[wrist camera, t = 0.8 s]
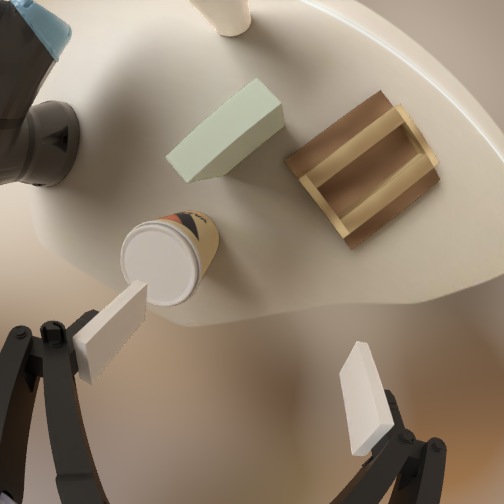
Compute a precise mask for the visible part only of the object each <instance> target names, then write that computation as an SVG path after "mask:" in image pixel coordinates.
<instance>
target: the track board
mask: <svg viewBox="0 0 504 504" xmlns="http://www.w3.org/2000/svg"><path fill="white" fill-rule="evenodd" d="M284 162H285V163H286V165H287V166H288V167H289V168H290V170H291V171H292V172H293V173H294V174H295V176H296V177H297V178H298V180H299V181H300V182H301V184H302V185H303V186H304V187H305V189H306V190H307V191H308V192H309V194H310V195H311V196H312V198H313V199H314V200H315V201H316V203H317V204H318V205H319V207H320V208H321V209H322V211H323V212H324V213H325V215H326V216H327V217H328V219H329V220H330V221H331V223H332V224H333V225H334V227H335V228H336V229H337V231H338V232H339V234H340V235H341V236H342V238H343V239H344V240H345V242H346V243H347V244H348V246H349V247H350V249H351V250H352V249H353V248H354V247H356V246H357V245H358V244H360V243H361V242H362V241H364V240H365V239H366V238H368V237H369V236H370V235H372V234H373V233H374V232H376V231H377V230H378V229H380V228H381V227H382V226H383V225H385V224H386V223H387V222H389V221H390V220H391V219H392V218H394V217H395V216H396V215H398V214H399V213H400V212H401V211H403V210H404V209H405V208H406V207H408V206H409V205H410V204H411V203H413V202H414V201H415V200H416V199H418V198H419V197H420V196H421V195H422V194H424V193H425V192H426V191H427V190H429V189H430V188H431V187H432V186H433V185H435V184H436V183H437V182H438V181H439V180H440V178H439V176H438V174H437V173H436V171H435V169H434V167H435V166H436V165H437V164H439V162H438V160H437V158H436V156H435V155H434V153H433V151H432V150H431V148H430V146H429V145H428V143H427V142H426V140H425V138H424V137H423V135H422V134H421V132H420V131H419V129H418V128H417V126H416V125H415V123H414V122H413V120H412V119H411V117H410V116H409V115H408V113H407V112H406V110H405V109H404V108H403V106H402V105H401V104H399V105H397V106H395V107H393V106H392V104H391V103H390V102H389V100H388V99H387V98H386V97H385V95H384V94H383V93H382V91H381V90H380V91H379V92H377V93H376V94H374V95H373V96H371V97H370V98H369V99H367V100H366V101H364V102H363V103H362V104H360V105H359V106H357V107H356V108H355V109H353V110H352V111H350V112H349V113H348V114H346V115H345V116H343V117H342V118H341V119H339V120H338V121H337V122H335V123H334V124H333V125H331V126H330V127H329V128H327V129H326V130H324V131H323V132H322V133H320V134H319V135H318V136H317V137H315V138H314V139H313V140H311V141H310V142H309V143H307V144H306V145H305V146H303V147H302V148H301V149H300V150H298V151H297V152H296V153H294V154H293V155H292V156H290V157H289V158H288V159H287V160H285V161H284Z"/></svg>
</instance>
